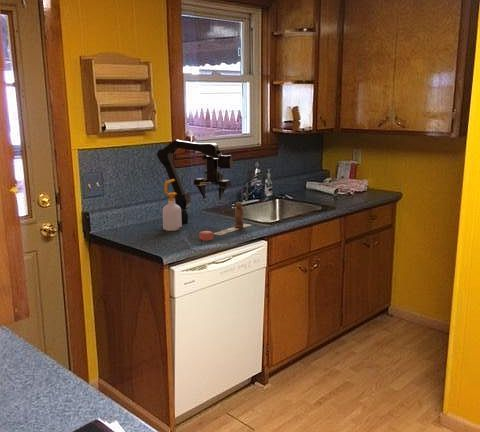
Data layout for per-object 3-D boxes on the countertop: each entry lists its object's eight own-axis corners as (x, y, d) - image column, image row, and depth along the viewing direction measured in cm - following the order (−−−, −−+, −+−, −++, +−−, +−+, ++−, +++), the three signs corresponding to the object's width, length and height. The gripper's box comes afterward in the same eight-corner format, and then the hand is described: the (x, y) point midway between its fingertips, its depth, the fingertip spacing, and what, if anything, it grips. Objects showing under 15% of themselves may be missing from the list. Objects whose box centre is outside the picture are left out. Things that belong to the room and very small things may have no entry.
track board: (224, 239, 238) (224, 236, 237) (206, 235, 244) (206, 232, 244) (257, 228, 258) (257, 225, 258) (240, 225, 264) (240, 222, 264)
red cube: (204, 243, 231) (204, 234, 230) (199, 241, 234) (199, 231, 233) (213, 242, 233) (213, 232, 232) (207, 240, 237) (207, 230, 236)
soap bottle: (183, 230, 255) (182, 180, 249) (165, 231, 251) (163, 181, 246) (179, 225, 263) (177, 177, 257) (161, 227, 260) (159, 178, 254)
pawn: (237, 228, 252) (237, 203, 249) (232, 226, 255) (232, 201, 253) (245, 227, 254) (245, 202, 251) (240, 225, 258) (240, 201, 255)
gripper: (235, 167, 262) (236, 198, 266) (203, 165, 270) (204, 195, 274) (225, 170, 252) (225, 202, 256) (192, 168, 261) (193, 199, 264)
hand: (212, 199), depth 263 cm, fingers open, 9 cm apart
